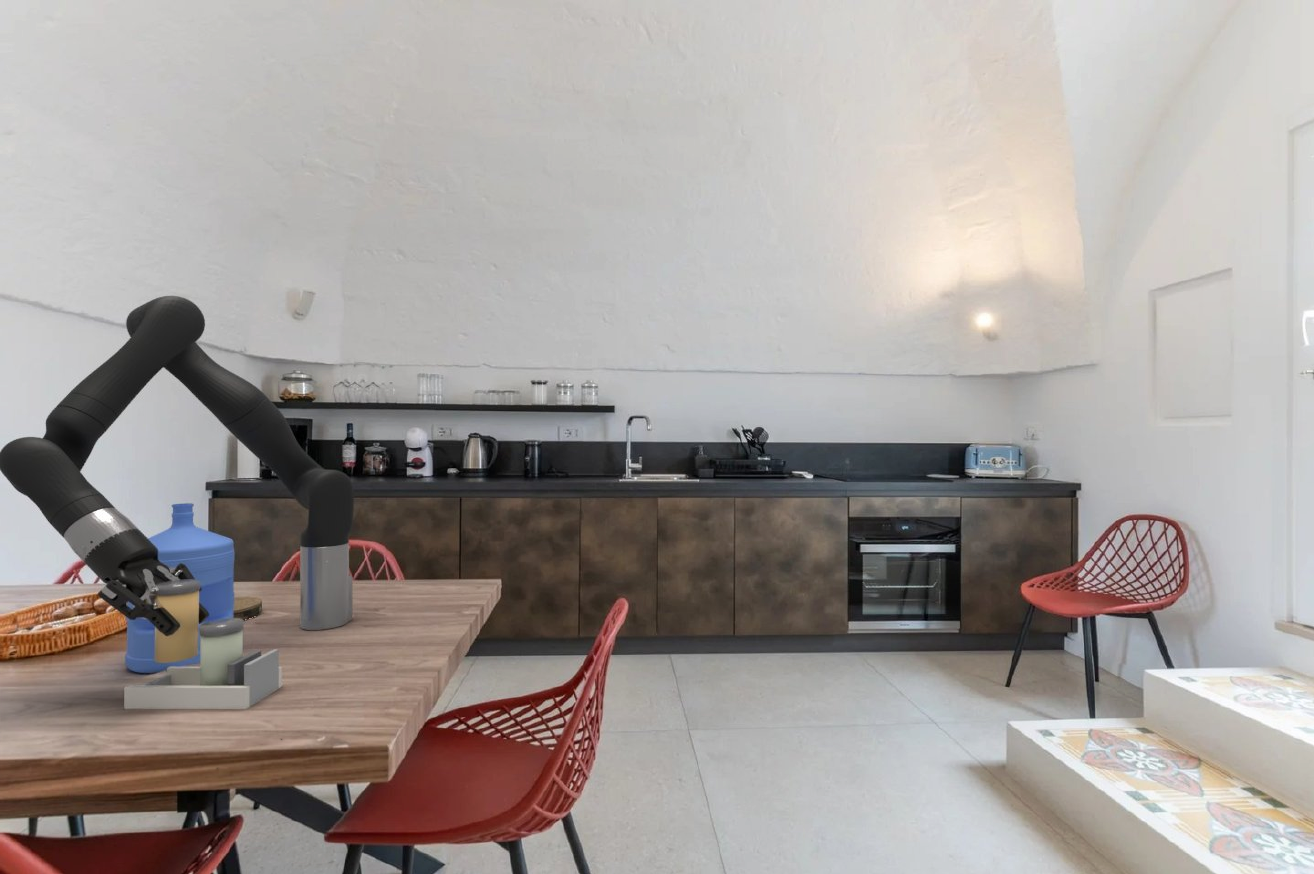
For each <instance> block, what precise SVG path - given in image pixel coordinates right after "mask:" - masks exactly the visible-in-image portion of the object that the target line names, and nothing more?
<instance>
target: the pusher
mask: <svg viewBox="0 0 1314 874" xmlns="http://www.w3.org/2000/svg"><path fill="white" fill-rule="evenodd" d="M260 656H262V650H254V651H252V652H250V653H247V654H245V655H243V657H241V658H239V659H237V660H236V661H234V662H232V663H230V664H228V669H227V686H244V665H245V664H247V663H249V662H251V661H252V660H254V659H256V658H258V657H260Z"/></svg>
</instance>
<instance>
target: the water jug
mask: <svg viewBox="0 0 1314 874" xmlns="http://www.w3.org/2000/svg"><path fill="white" fill-rule="evenodd" d="M171 507H172V513H171V519H172V520H171V522H172V523H171V525H170V527H169V528H167V529H165V530H163V531H161V532H159V533H156V534H155V535H154V534H153V535H152V536H150V537H147V538H148V539H149V540H150V541H151V542H152V543H153V544H154V545H155V547H156V548H157V549H158V560H159V561H160V562H161V563H163V564H165V565H167V566H168V567H169V568H171V567H177V566H178V565H179V564H180V563H182V564H184V565H186V567H187V568H188V570H189V571H190V572H191V574H192V575H193V577H194V578H195V580H200V587H201V588H202V590H201V591H200V592H199V602H200V603H201V605H202V606H203V607H204V608H205V609H206V610H207V611H208V613H209V617H208V618H207V619H206V620H205V621H204V622H203V623H206V622H210V621H214V620H219V619H228V618H233V606H234V597H235V592H234V580H235V579H234V578H235V577H234V572H235V571H234V570H235V569H234V563H235V559H236V558H235V556H236V555H235V547H234V540H233V539H232V538H231V537H230V538H229V537H228V536H224V535H221V534H218V533H215V532H212V531H210V530H207V529H204V528H201V527H198V526H196V525H195V523H194V514H195V513H194V511H193V510H194V509H193V507H194V503H190V502H189V503H186V502H185V503H174V504H171ZM126 605H127V606H128V607H130V608H131V609H133V608H134V607H133V605H132V604H131V603H130V602H129V601H128V602H127V603H126ZM125 620H126V633H127V634H126V653H125V656H124V660H125V666H126V668H127V669H128V670H129V671H132V672H135V673H140V674H141V673H142V674H157V673H162V672H164V671H167V668H169V667H171V666H190V665H193V664H197V663H200V625H201V624H203V623H201V624H199V639H198V655H197V656H195V657H193V658H190V659H186V660H182V661H177V662H170V663H158V662H155V626H154V625H153V624H152V623H151V622H150V621H149V620H145V619H143V618H142V617H137V618H136V619H135V620H130V619H129V618H127V617H126V616H125Z"/></svg>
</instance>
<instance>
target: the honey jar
mask: <svg viewBox="0 0 1314 874" xmlns="http://www.w3.org/2000/svg"><path fill="white" fill-rule="evenodd" d="M155 590H156V595H157V598H158V600H159V602H160V604H161V607H160V609H161V608H165V609H166V610H167V611H168V612H169V613H170V614H171V615H172V616H173V617H174V618H175V619H176V620H177V621H178V622H179V623H180V627H179V629H178V630H177V631H176V632H175V633H174V634H172V635H169V636H165V635H164V634H163V633H161V632H160V631H159V630H158V629H157V628H156V627H155V662H158V663H170V662H177V661H182V660H186V659H190V658H193V657H195V656H197V655H198V639H199V590H200V580H195V579H185V580H174V581H168V582H163V583H159V584H156V586H155Z"/></svg>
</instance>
